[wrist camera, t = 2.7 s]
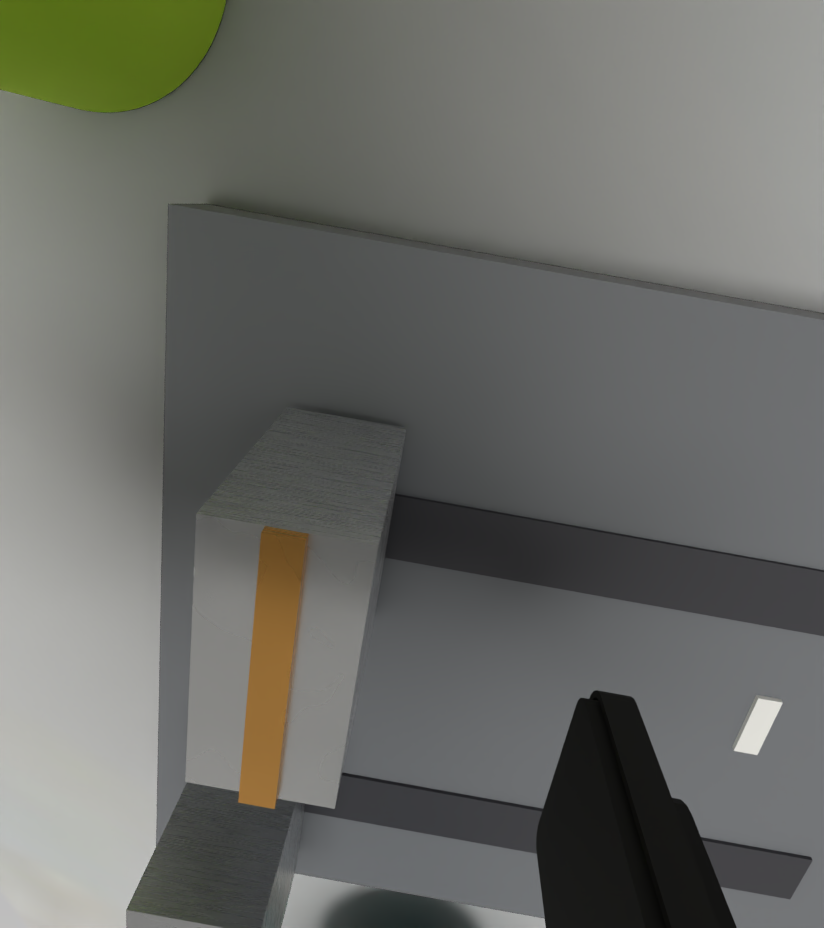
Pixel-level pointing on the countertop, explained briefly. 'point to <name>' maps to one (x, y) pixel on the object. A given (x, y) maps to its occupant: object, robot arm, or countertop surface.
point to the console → (526, 542)
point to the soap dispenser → (103, 49)
